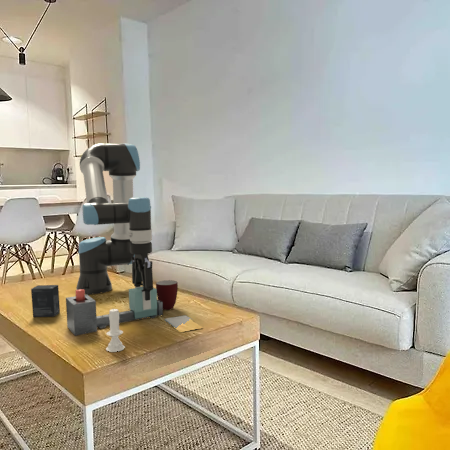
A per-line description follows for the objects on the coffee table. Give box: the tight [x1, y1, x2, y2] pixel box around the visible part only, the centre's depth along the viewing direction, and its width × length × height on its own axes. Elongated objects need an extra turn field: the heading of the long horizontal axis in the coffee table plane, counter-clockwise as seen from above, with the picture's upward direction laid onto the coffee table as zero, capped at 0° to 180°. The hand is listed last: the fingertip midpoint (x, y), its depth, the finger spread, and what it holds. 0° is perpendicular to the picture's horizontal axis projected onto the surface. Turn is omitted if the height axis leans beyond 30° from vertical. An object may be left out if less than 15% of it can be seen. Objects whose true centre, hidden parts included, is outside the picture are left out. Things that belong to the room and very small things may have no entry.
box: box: [30, 284, 61, 318], centre depth 160 cm, size 8×6×11 cm
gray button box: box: [65, 294, 98, 336], centre depth 143 cm, size 10×7×10 cm
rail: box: [96, 299, 164, 330], centre depth 152 cm, size 6×24×5 cm, turn 123°
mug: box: [155, 279, 179, 311], centre depth 164 cm, size 11×8×10 cm
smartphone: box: [164, 314, 192, 328], centre depth 147 cm, size 8×1×15 cm
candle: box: [105, 308, 126, 353], centre depth 126 cm, size 5×5×12 cm
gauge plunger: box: [75, 289, 86, 302], centre depth 143 cm, size 3×3×4 cm
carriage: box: [128, 287, 158, 319], centre depth 155 cm, size 6×8×9 cm
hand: (143, 306), depth 155 cm, fingers closed on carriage, 6 cm apart
